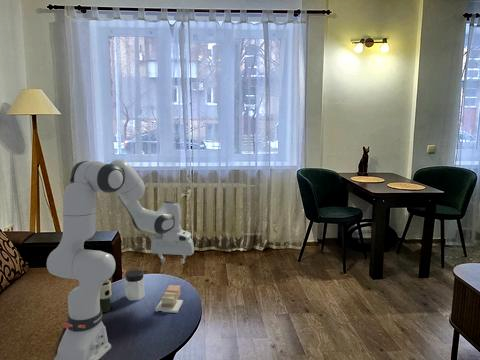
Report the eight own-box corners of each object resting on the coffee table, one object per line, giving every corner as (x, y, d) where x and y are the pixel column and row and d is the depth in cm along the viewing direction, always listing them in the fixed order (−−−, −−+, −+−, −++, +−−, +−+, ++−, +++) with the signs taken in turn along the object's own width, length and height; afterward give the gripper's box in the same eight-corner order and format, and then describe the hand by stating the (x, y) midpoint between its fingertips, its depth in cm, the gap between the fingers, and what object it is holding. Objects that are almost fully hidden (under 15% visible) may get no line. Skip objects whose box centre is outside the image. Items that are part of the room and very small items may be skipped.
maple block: (173, 307, 184) (173, 298, 183) (161, 307, 185) (161, 297, 184) (177, 302, 189) (176, 293, 188) (165, 301, 190) (165, 292, 189)
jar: (147, 298, 195) (146, 274, 193) (130, 302, 190) (129, 278, 188) (140, 290, 202) (139, 268, 200) (123, 295, 198) (122, 271, 195)
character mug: (105, 317, 178) (103, 289, 175) (90, 315, 179) (88, 287, 177) (117, 304, 188) (115, 278, 186) (103, 303, 190) (101, 277, 187)
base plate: (177, 312, 181) (177, 310, 181) (155, 311, 183) (155, 309, 183) (183, 302, 191) (182, 300, 191) (162, 300, 192) (162, 298, 192)
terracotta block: (178, 299, 194) (177, 290, 193) (166, 298, 194) (166, 290, 193) (180, 294, 199) (180, 285, 198) (169, 293, 200) (169, 285, 199)
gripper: (148, 235, 189) (149, 263, 192) (191, 238, 186) (191, 266, 189) (152, 231, 195) (153, 258, 198) (194, 233, 193) (195, 260, 195)
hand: (172, 262), depth 194 cm, fingers open, 8 cm apart
